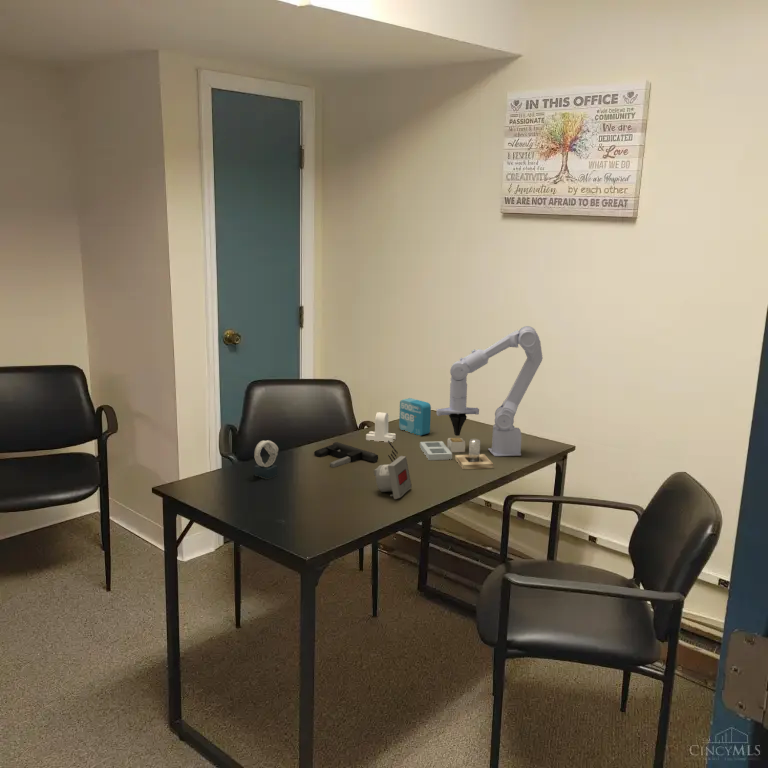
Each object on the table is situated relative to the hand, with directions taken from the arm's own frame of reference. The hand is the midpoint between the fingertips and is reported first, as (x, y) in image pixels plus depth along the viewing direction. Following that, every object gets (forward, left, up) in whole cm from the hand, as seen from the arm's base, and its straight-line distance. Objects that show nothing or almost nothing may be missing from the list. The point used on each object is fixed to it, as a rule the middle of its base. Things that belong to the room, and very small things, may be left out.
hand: (456, 434), depth 246 cm
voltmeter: (+28, +30, -6) cm, 41 cm away
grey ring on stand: (+65, +19, -6) cm, 68 cm away
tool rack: (+8, +3, -5) cm, 10 cm away
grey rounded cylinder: (-2, +15, -6) cm, 16 cm away
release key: (0, 0, -5) cm, 5 cm away
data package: (+10, -23, -6) cm, 26 cm away
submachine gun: (+40, +5, -6) cm, 41 cm away
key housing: (0, 0, -5) cm, 5 cm away
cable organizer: (+24, -15, -6) cm, 29 cm away
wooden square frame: (-2, +15, -5) cm, 16 cm away
